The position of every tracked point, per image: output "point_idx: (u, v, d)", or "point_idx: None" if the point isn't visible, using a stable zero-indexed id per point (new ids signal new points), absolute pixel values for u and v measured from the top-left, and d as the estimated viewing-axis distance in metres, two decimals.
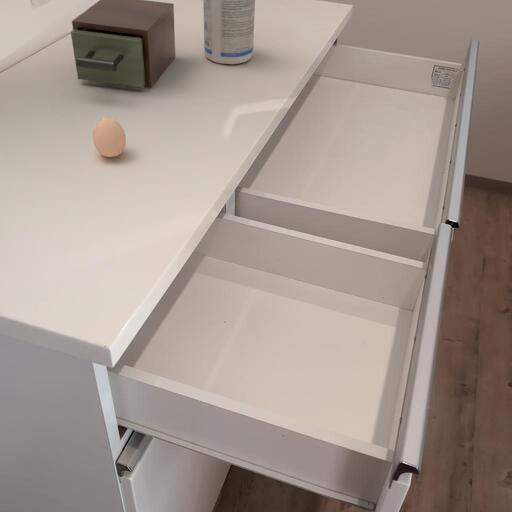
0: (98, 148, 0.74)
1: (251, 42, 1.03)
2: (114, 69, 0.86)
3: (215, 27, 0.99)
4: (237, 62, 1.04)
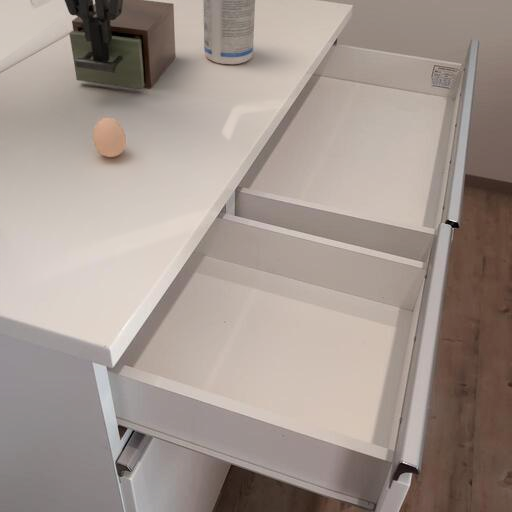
0: (98, 148, 0.74)
1: (251, 42, 1.03)
2: (113, 70, 0.85)
3: (215, 27, 0.99)
4: (237, 62, 1.04)
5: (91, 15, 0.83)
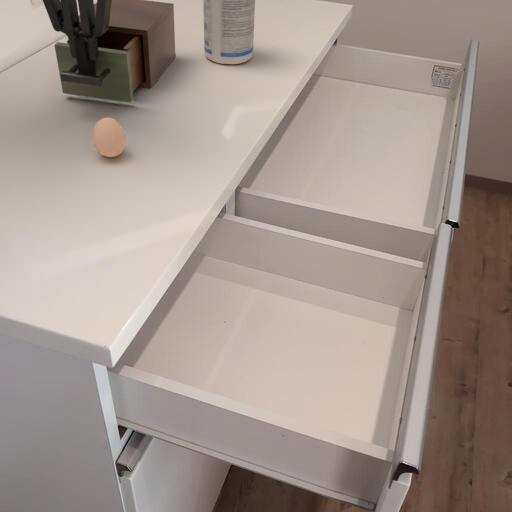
0: (98, 148, 0.74)
1: (251, 42, 1.03)
2: (100, 84, 0.81)
3: (215, 27, 0.99)
4: (237, 62, 1.04)
5: (77, 31, 0.79)
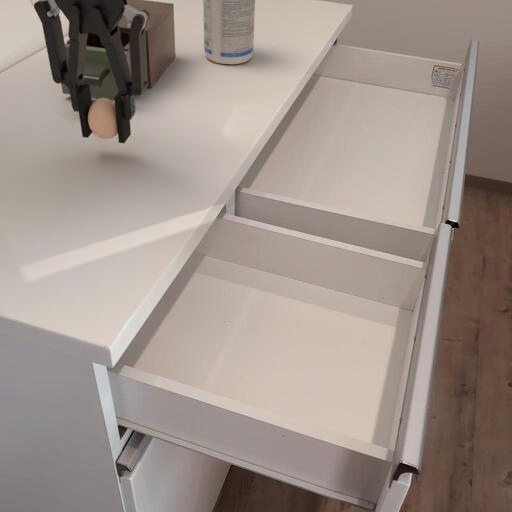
0: (93, 129, 0.73)
1: (251, 42, 1.03)
2: (99, 84, 0.81)
3: (215, 27, 0.99)
4: (237, 62, 1.04)
5: None
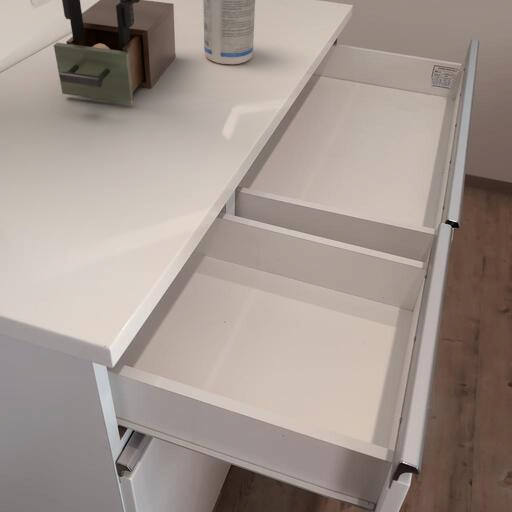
0: None
1: (251, 42, 1.03)
2: (99, 85, 0.81)
3: (215, 27, 0.99)
4: (237, 62, 1.04)
5: None
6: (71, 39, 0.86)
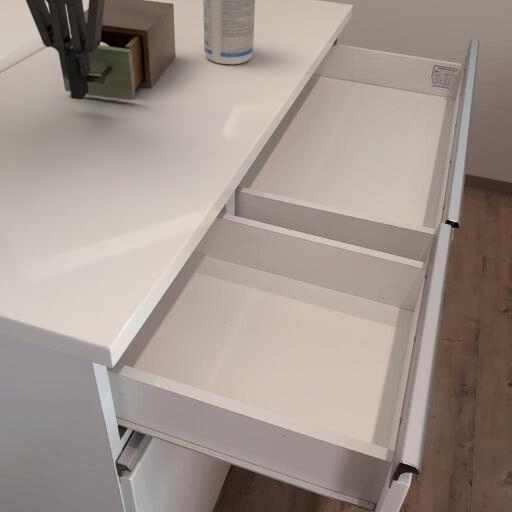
0: None
1: (251, 42, 1.03)
2: (102, 82, 0.82)
3: (215, 27, 0.99)
4: (237, 62, 1.04)
5: None
6: None
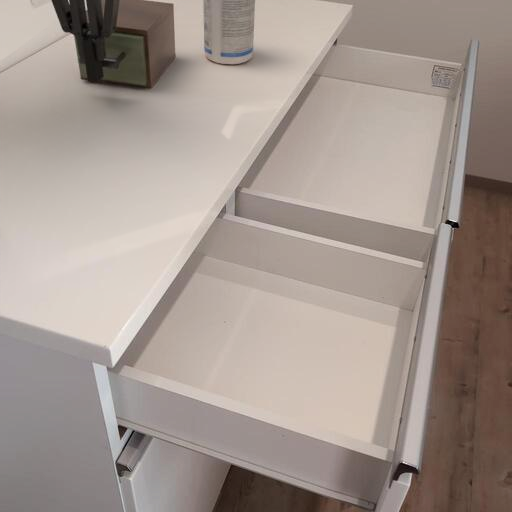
0: None
1: (251, 42, 1.03)
2: (116, 67, 0.86)
3: (215, 27, 0.99)
4: (237, 62, 1.04)
5: None
6: None
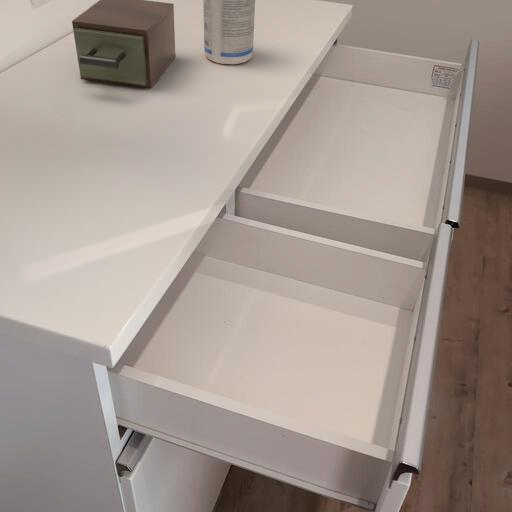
0: None
1: (251, 42, 1.03)
2: (116, 67, 0.86)
3: (215, 27, 0.99)
4: (237, 62, 1.04)
5: None
6: None
